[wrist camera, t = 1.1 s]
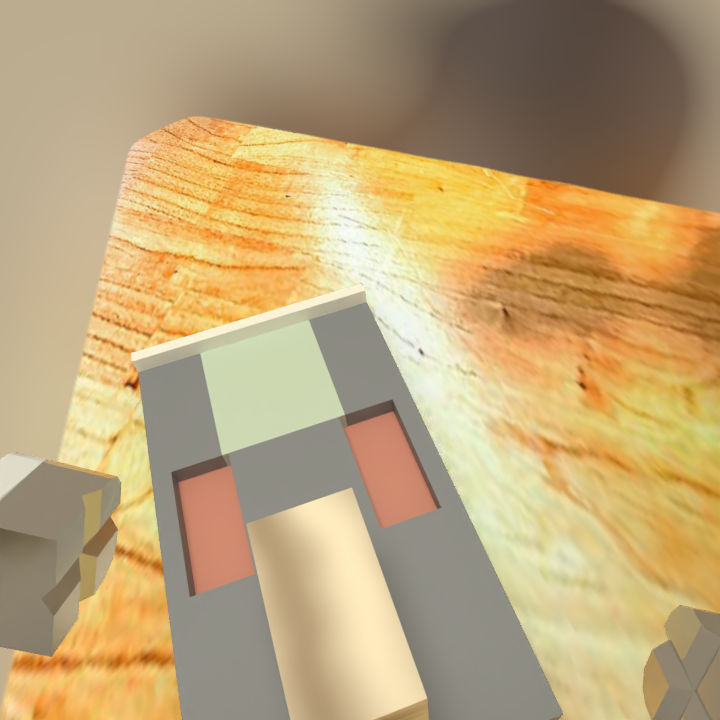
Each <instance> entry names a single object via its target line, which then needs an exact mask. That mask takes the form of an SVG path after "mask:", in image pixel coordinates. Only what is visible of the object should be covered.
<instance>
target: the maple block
mask: <svg viewBox="0 0 720 720" xmlns="http://www.w3.org/2000/svg"><path fill="white" fill-rule="evenodd" d="M246 525H247V529H248V534H249V538H250V542H251V547H252V551H253V556H254V560H255V565H256V569H257V574H258V578H259V582H260V587H261V591H262V596H263V600H264V605H265V609H266V614H267V618H268V622H269V627H270V631H271V636H272V640H273V645H274V649H275V654H276V658H277V662H278V667H279V671H280V676H281V680H282V685H283V689H284V694H285V698H286V702H287V707H288V711H289V716H290V720H429V714H428V700H427V696H426V693H425V690H424V688H423V685H422V682H421V679H420V676H419V674H418V671H417V668H416V665H415V662H414V660H413V657H412V654H411V651H410V648H409V646H408V643H407V640H406V637H405V634H404V632H403V629H402V626H401V623H400V620H399V618H398V615H397V612H396V609H395V606H394V604H393V601H392V598H391V595H390V592H389V590H388V587H387V584H386V581H385V578H384V576H383V573H382V570H381V567H380V565H379V562H378V559H377V556H376V553H375V551H374V548H373V545H372V542H371V539H370V537H369V534H368V531H367V528H366V525H365V523H364V520H363V517H362V514H361V511H360V509H359V506H358V503H357V500H356V497H355V495H354V492H353V489H352V488H349V489H346V490H343V491H340V492H337V493H334V494H331V495H328V496H326V497H323V498H320V499H317V500H314V501H311V502H308V503H305V504H302V505H299V506H297V507H294V508H291V509H288V510H285V511H282V512H279V513H276V514H273V515H270V516H267V517H265V518H262V519H259V520H256V521H253V522H250V523H247V524H246Z"/></svg>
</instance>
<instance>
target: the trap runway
mask: <svg viewBox="0 0 720 720" xmlns="http://www.w3.org/2000/svg"><path fill="white" fill-rule="evenodd" d="M131 359H132V363H133V364H134V366H135V368H136V369H137V371H138V373H139V381H140V389H141V397H142V405H143V413H144V421H145V429H146V437H147V445H148V453H149V461H150V469H151V477H152V485H153V493H154V501H155V508H156V516H157V524H158V532H159V540H160V548H161V556H162V564H163V572H164V580H165V588H166V596H167V604H168V612H169V620H170V628H171V636H172V644H173V652H174V660H175V668H176V676H177V684H178V692H179V700H180V708H181V716H182V720H290V716H289V711H288V707H287V702H286V698H285V694H284V689H283V685H282V680H281V676H280V671H279V667H278V662H277V658H276V654H275V649H274V645H273V640H272V636H271V631H270V627H269V622H268V618H267V614H266V609H265V605H264V600H263V596H262V591H261V587H260V582H259V578H258V574H257V569H256V565H255V560H254V556H253V551H252V547H251V542H250V538H249V534H248V529H247V525H246V524H247V523H250V522H253V521H256V520H259V519H262V518H265V517H267V516H270V515H273V514H276V513H279V512H282V511H285V510H288V509H291V508H294V507H297V506H299V505H302V504H305V503H308V502H311V501H314V500H317V499H320V498H323V497H326V496H328V495H331V494H334V493H337V492H340V491H343V490H346V489H349V488H352V489H353V492H354V495H355V497H356V500H357V503H358V506H359V509H360V511H361V514H362V517H363V520H364V523H365V525H366V528H367V531H368V534H369V537H370V539H371V542H372V545H373V548H374V551H375V553H376V556H377V559H378V562H379V565H380V567H381V570H382V573H383V576H384V578H385V581H386V584H387V587H388V590H389V592H390V595H391V598H392V601H393V604H394V606H395V609H396V612H397V615H398V618H399V620H400V623H401V626H402V629H403V632H404V634H405V637H406V640H407V643H408V646H409V648H410V651H411V654H412V657H413V660H414V662H415V665H416V668H417V671H418V674H419V676H420V679H421V682H422V685H423V688H424V690H425V693H426V696H427V700H428V714H429V720H558V719H559V718H560V717H561V715H562V714H563V713H562V711H561V708H560V706H559V704H558V702H557V700H556V698H555V696H554V694H553V692H552V690H551V687H550V685H549V683H548V681H547V679H546V677H545V675H544V673H543V671H542V669H541V667H540V664H539V662H538V660H537V658H536V656H535V654H534V652H533V650H532V648H531V646H530V644H529V641H528V639H527V637H526V635H525V633H524V631H523V629H522V627H521V625H520V623H519V620H518V618H517V616H516V614H515V612H514V610H513V608H512V606H511V604H510V602H509V600H508V597H507V595H506V593H505V591H504V589H503V587H502V585H501V583H500V581H499V579H498V577H497V574H496V572H495V570H494V568H493V566H492V564H491V562H490V560H489V558H488V556H487V553H486V551H485V549H484V547H483V545H482V543H481V541H480V539H479V537H478V535H477V533H476V530H475V528H474V526H473V524H472V522H471V520H470V518H469V516H468V514H467V512H466V510H465V507H464V505H463V503H462V501H461V499H460V497H459V495H458V493H457V491H456V489H455V487H454V484H453V482H452V480H451V478H450V476H449V474H448V472H447V470H446V468H445V466H444V463H443V461H442V459H441V457H440V455H439V453H438V451H437V449H436V447H435V445H434V443H433V440H432V438H431V436H430V434H429V432H428V430H427V428H426V426H425V424H424V422H423V420H422V417H421V415H420V413H419V411H418V409H417V407H416V405H415V403H414V401H413V399H412V396H411V394H410V392H409V390H408V388H407V386H406V384H405V382H404V380H403V378H402V376H401V373H400V371H399V369H398V367H397V365H396V363H395V361H394V359H393V357H392V355H391V353H390V350H389V348H388V346H387V344H386V342H385V340H384V338H383V336H382V334H381V332H380V329H379V327H378V325H377V323H376V321H375V319H374V317H373V315H372V313H371V311H370V309H369V306H368V304H367V302H366V294H365V290H364V287H363V285H362V283H361V284H358V285H355V286H351V287H348V288H345V289H341V290H338V291H335V292H331V293H328V294H325V295H321V296H318V297H315V298H312V299H308V300H305V301H302V302H298V303H295V304H292V305H288V306H285V307H282V308H279V309H275V310H272V311H269V312H265V313H262V314H259V315H255V316H252V317H249V318H246V319H242V320H239V321H236V322H232V323H229V324H226V325H222V326H219V327H216V328H212V329H209V330H206V331H203V332H199V333H196V334H193V335H189V336H186V337H183V338H179V339H176V340H173V341H170V342H166V343H163V344H160V345H156V346H153V347H150V348H146V349H143V350H140V351H137V352H133V353H131Z"/></svg>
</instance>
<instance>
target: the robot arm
mask: <svg viewBox="0 0 720 720" xmlns="http://www.w3.org/2000/svg"><path fill="white" fill-rule="evenodd" d="M120 496H121V482H120V480H119V479H118V477H116V476H112V475H108V474H104V473H100V472H96V471H92V470H88V469H84V468H80V467H76V466H72V465H68V464H64V463H60V462H56V461H52V460H51V461H49V460H47V459H43V458H39V457H35V456H31V455H26V454H21V453H10V454H7V455H5V456H4V457H3V458H2V459H0V647H4V648H9V649H14V650H19V651H25V652H30V653H35V654H40V655H45V656H50V657H52V655H53V654H54V652H55V651H56V650H57V648H58V647H59V645H60V644H61V642H62V641H63V639H64V638H65V637H66V635H67V634H68V632H69V631H70V629H71V628H72V626H73V625H74V623H75V622H76V621H77V619H78V611H79V602H80V601H82V600H84V599H86V598H88V597H90V596H92V595H94V594H95V592H96V591H97V589H98V588H99V586H100V585H101V583H102V582H103V580H104V578H105V576H106V573H107V571H108V569H109V566H110V564H111V562H112V559H113V555H114V551H115V547H116V541H117V531H118V529H117V527H116V525H115V524H114V522H113V520H112V519H111V517H110V516H111V514H112V513H113V512H114V510H115V509H116V508H117V506H118V505H119V504H120ZM664 627H665V630H666V633H667V636H668V639H669V640H668V641H667V642H665V643H663V644H661V645H660V646H658V647H656V648H655V649H653V650H652V652H651V654H650V656H649V659H648V661H647V663H646V666H645V668H644V679H643V692H644V698H645V704H646V707H647V709H648V712H649V714H650V717H651V719H652V720H720V613H715V612H710V611H706V610H701V609H696V608H692V607H687V606H682V605H679V606H678V607H677V608H676V609H675V610H674V611H672V612H671V614H670V616H669V618H668V620H667V622H666V624H665V625H664Z"/></svg>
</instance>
